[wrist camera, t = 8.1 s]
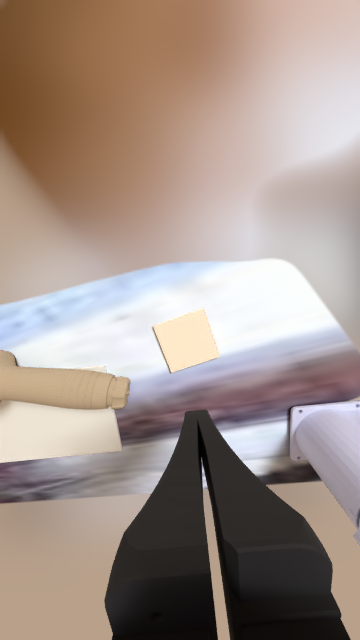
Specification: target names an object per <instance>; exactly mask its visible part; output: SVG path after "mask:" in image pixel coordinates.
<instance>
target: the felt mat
mask: <svg viewBox="0 0 360 640" xmlns="http://www.w3.org/2000/svg"><path fill="white" fill-rule="evenodd" d="M77 369H81V370H90V371H96V372H101V373H102V372H103V373H107V372H106V367H105V366H96V367H86V368H77ZM122 449H123V448H122V443H121V439H120V434H119V429H118V424H117V420H116V415H115V410H114V409H111V407H109V408H107V409H96V410H93V409H92V410H87V409H86V410H81V409H68V408H60V407H54V406H47V405H40V404H34V403H26V402H18V401H10V400H2V402H1V403H0V463H2V462H12V461H22V460H33V459H43V458H53V457H64V456H74V455H84V454H94V453H105V452H115V451H122Z"/></svg>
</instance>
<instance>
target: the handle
mask: <svg viewBox="0 0 360 640" xmlns="http://www.w3.org/2000/svg"><path fill="white" fill-rule="evenodd" d="M129 392H130V379H129V378H126V377H121V376H120V377H117V378H116V377H115V375H111V374H107V373H103V372H102V373H101V372H96V371H90V370H81V369H56V368H32V367H19V366H16V363H15V357H14V355H13V354H12V353H10V352H8V351H3V350H0V403H1V402H2V400H10V401H18V402H26V403H34V404H40V405H47V406H54V407H60V408H68V409H81V410H86V409H87V410H92V409H93V410H96V409H107V408H109V407H111V409H121V408H124V406H126V404H127V399H128V395H129Z"/></svg>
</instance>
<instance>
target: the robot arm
mask: <svg viewBox="0 0 360 640" xmlns="http://www.w3.org/2000/svg"><path fill="white" fill-rule="evenodd" d="M299 410H300V411H299ZM201 457H202V461H201ZM290 458H291V460H292V461H303V460H308V461H309V463H310V464H311V466H312V467H313V468H314V470H315V471H316V472H317V474H318V475H319V477H320V478H321V479H322V481H323V482H324V484H325V485H326V486H327V488H328V489H329V490H330V492H331V493H332V495H333V496H334V497H335V499H336V500H337V502H338V503H339V504H340V506H341V507H342V508H343V510H344V511H345V513H346V514H347V515H348V517H349V518H350V520H351V521H352V522H353V524H354V525H355V527H356V528H357V529H358V530H357V532H356V533H355V534H354V538H355V539H356V541H357V542H358V543H359V545H360V400H359V401H348V402H338V403H328V404H318V405H307V406H297V407H293V408H292V409H291V417H290ZM202 462H203V467H204V472H205V476H206V481H207V486H208V491H209V495H210V500H211V505H212V511H213V518H214V525H215V532H216V539H217V546H218V553H219V560H220V568H221V575H222V582H223V589H224V597H225V604H226V611H227V618H228V625H229V633H230V640H350V638H349V635H348V633H347V632H346V629H345V627H344V625H343V623H342V621H341V619H340V618H341V612H340V609H339V607H338V605H337V603H336V601H335V599H334V597H333V595H332V593H331V583H332V572H333V570H332V562H331V561H330V558H329V557H328V554H327V552H326V551H325V549H324V547H323V545H322V543H321V542H320V540H319V539H318V537H317V536H316V534H315V533H314V531H313V529H312V528H311V527H310V525H309V524H308V522H307V521H306V519H305V518H304V517H303V516H302V515H301V514H299V513H298V512H297V511H295V510H294V509H293V508H292V507H290V506H289V505H288V504H287V503H285V502H284V501H283V500H282V499H280V498H279V497H278V496H277V495H276V494H275V493H273V492H272V491H271V490H270V489H269V488H268V487H267V486H266V485H265V484H264V483H263V482H262V481H261V480H260V479H259V478H258V477H257V476H255V475H254V474H253V473H252V472H251V471H250V469H249V468H248V467H247V466H246V465H245V464H244V463H243V462H242V461H241V460H240V459H239V457H238V456H237V455H236V454H235V453H234V451H233V450H232V449H231V448H230V446H229V445H228V444H227V442H226V441H225V440H224V438H223V437H222V435H221V434H220V432H219V431H218V429H217V428H216V426H215V424H214V423H213V421H212V419H211V417H210V415H209V413H208V411H207V410H196V411H187V412H186V413H185V418H184V423H183V427H182V430H181V433H180V437H179V440H178V442H177V445H176V447H175V450H174V453H173V455H172V457H171V459H170V462H169V464H168V466H167V468H166V470H165V472H164V473H163V475H162V477H161V479H160V481H159V483H158V484H157V486H156V488H155V489H154V491H153V492H152V494H151V496H150V497H149V499H148V500H147V502H146V503H145V505H144V506H143V508H142V509H141V511H140V512H139V513H138V515H137V516H136V517H135V519H134V520H133V522H132V523H131V524H130V526H129V527H128V528H127V529H126V531H125V532H124V534H123V537H122V539H121V542H120V545H119V548H118V550H117V554H116V556H115V560H114V563H113V566H112V570H111V574H110V578H109V583H108V587H107V591H106V596H105V608H106V612H107V615H108V618H109V622H110V625H111V628H112V632H113V636H112V640H218V636H217V627H216V618H215V608H214V599H213V590H212V581H211V571H210V562H209V553H208V543H207V535H206V526H205V517H204V506H203V485H202Z"/></svg>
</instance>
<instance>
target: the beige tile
mask: <svg viewBox="0 0 360 640" xmlns="http://www.w3.org/2000/svg"><path fill="white" fill-rule="evenodd" d="M153 328H154V330H155V333H156V335H157V338H158V340H159V343H160V345H161V348H162V350H163V353H164V355H165V358H166V360H167V363H168V365H169V368H170V370H171V373H172V372H175V371H178V370H181V369H184V368H187V367H190V366H193V365H197V364H200V363H203V362H206V361H209V360H212V359H215V358H218V357H220V355H219V352H218V349H217V346H216V343H215V340H214V337H213V334H212V331H211V328H210V325H209V322H208V319H207V316H206V313H205V310H204V308H202V309H199V310H196V311H193V312H190V313H187V314H185V315H182V316H179V317H176V318H173V319H170V320H167V321H165V322H162V323H159V324H156V325H153Z"/></svg>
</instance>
